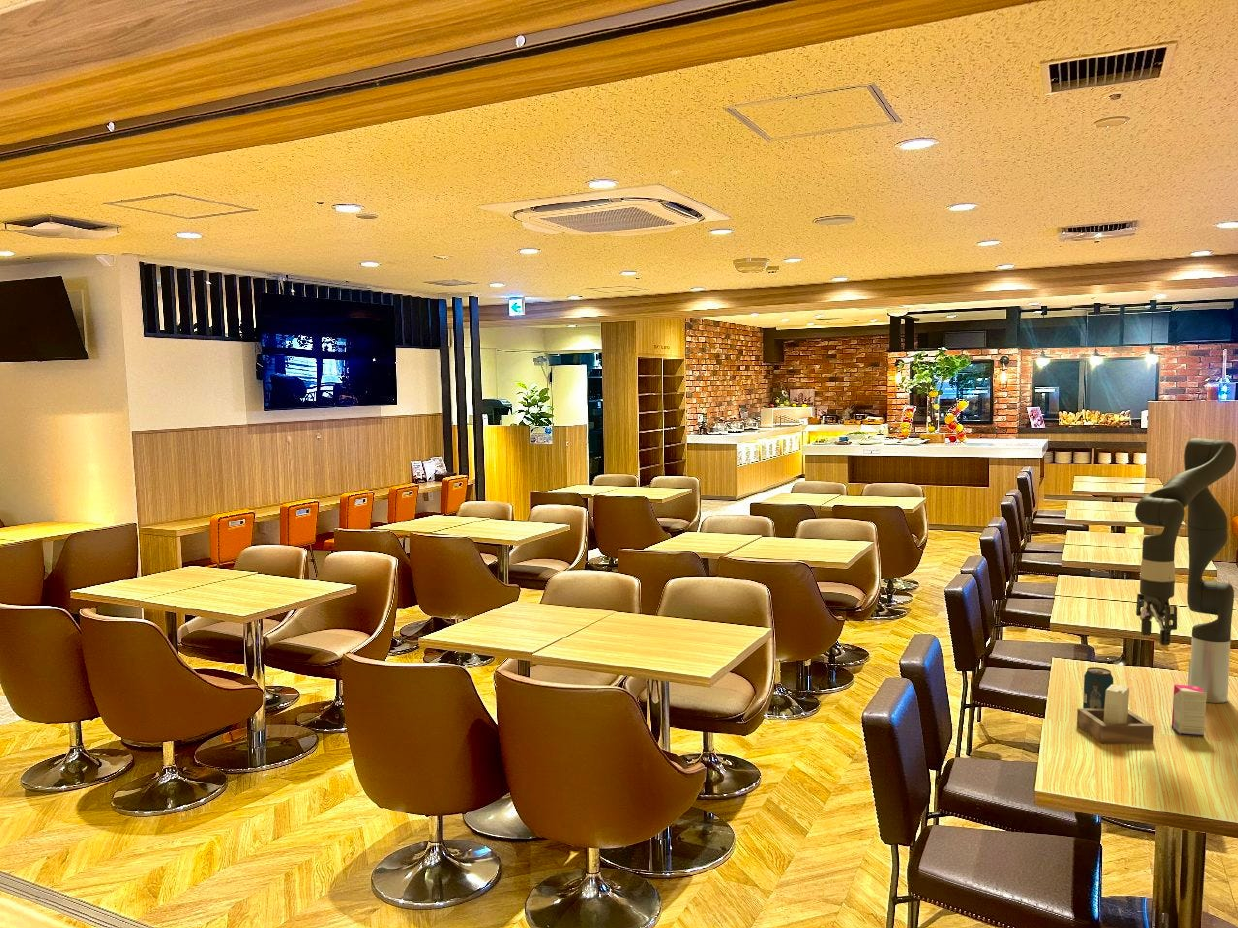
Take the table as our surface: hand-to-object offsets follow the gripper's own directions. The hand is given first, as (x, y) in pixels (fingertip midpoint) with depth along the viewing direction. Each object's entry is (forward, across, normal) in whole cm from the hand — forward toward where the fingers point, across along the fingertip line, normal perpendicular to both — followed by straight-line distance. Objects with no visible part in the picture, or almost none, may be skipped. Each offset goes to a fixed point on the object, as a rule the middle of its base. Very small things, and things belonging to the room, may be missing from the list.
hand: (1155, 639), depth 236 cm
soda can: (+24, +12, +8) cm, 28 cm away
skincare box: (+24, -3, +11) cm, 26 cm away
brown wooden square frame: (+24, -3, +11) cm, 26 cm away
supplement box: (+24, -1, -8) cm, 26 cm away
